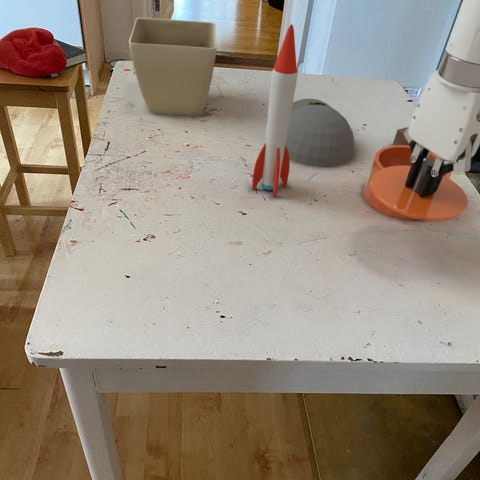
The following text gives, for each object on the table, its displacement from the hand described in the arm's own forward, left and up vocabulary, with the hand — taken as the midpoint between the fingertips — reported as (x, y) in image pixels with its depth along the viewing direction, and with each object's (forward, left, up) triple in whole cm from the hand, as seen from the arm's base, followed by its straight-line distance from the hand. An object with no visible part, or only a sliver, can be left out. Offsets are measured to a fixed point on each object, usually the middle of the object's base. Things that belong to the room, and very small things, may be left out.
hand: (419, 189), depth 77 cm
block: (-29, -28, -13) cm, 42 cm away
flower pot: (+12, -69, -13) cm, 71 cm away
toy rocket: (+11, -26, -13) cm, 31 cm away
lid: (0, 0, -1) cm, 1 cm away
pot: (-12, -12, -13) cm, 21 cm away
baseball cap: (-10, -40, -13) cm, 43 cm away
